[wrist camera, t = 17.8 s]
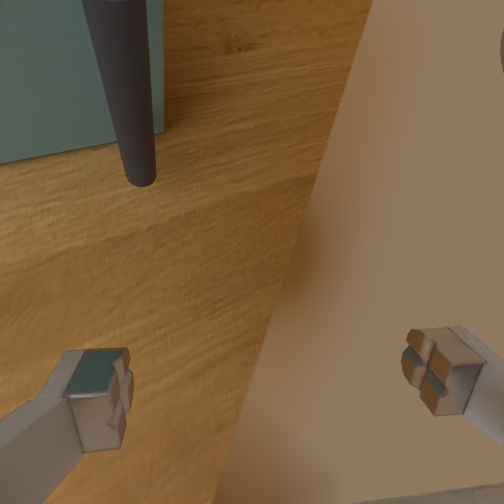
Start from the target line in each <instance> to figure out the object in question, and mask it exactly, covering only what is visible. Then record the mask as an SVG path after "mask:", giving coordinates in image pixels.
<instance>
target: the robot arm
mask: <svg viewBox="0 0 504 504" xmlns="http://www.w3.org/2000/svg"><path fill="white" fill-rule="evenodd" d="M406 341H407V343H408V344H409V347H408V348H407V349H406V350H405V351H404V352H403V355H402V359H401V364H402V371H403V373H404V375H405V378H406V379H407V380H408V382H409V383H410V384H411V385H412V386H414V387H416V388H417V389H419V390H420V398H421V399H422V401H423V402H424V403H425V405H426V406H427V407H428V409H429V410H430V411H431V412H432V414H433V415H434V416H447V415H461V414H463V416H464V417H465V418H467V419H468V420H469V421H471V422H472V423H474V424H475V425H476V426H478V427H479V428H481V429H482V430H483V431H485V432H486V433H488V434H489V435H491V436H492V437H494V438H495V439H496V440H498V441H499V442H501V443H502V444H503V445H504V360H503V359H502V358H501V357H500V356H498V355H497V354H496V353H495V352H494V351H492V350H491V349H490V348H489V347H488V346H486V345H485V344H484V343H482V341H480V340H479V339H478V338H477V337H476V336H474V335H473V334H472V333H471V332H469V331H468V330H467V329H466V328H465V327H462V326H460V325H457V326H444V327H437V328H424V329H411V331H410V332H409V333H408V336H407V339H406ZM129 363H130V355H129V350H128V349H127V348H126V347H124V348H100V349H87V350H86V349H82V350H67V351H66V352H64V353H63V354H62V356H61V357H60V359H59V361H58V362H57V364H56V366H55V368H54V369H53V371H52V373H51V374H50V376H49V378H48V379H47V381H46V383H45V384H44V386H43V388H42V389H41V391H40V393H39V395H38V396H37V398H36V400H32V401H28V402H26V403H25V404H23V405H22V406H20V407H19V408H18V409H16V410H15V411H13V412H12V413H10V414H9V415H8V416H6V417H5V418H3V419H2V420H0V504H42V503H43V502H44V501H45V500H46V498H47V497H48V496H49V495H50V494H51V493H52V491H53V490H54V489H55V488H56V487H57V486H58V484H59V483H60V482H61V481H62V480H63V479H64V478H65V476H66V475H67V474H68V473H69V472H70V471H71V469H72V468H73V467H74V466H75V465H76V464H77V462H78V461H79V460H80V459H81V458H82V457H83V454H84V453H92V452H99V451H107V450H114V449H120V448H121V444H122V440H123V436H124V432H125V429H126V425H127V424H126V418H125V414H126V413H127V412H128V411H129V410H130V409H131V404H132V400H133V391H134V379H133V372H132V371H131V370H129V369H128V366H129ZM349 504H504V482H503V483H496V484H489V485H481V486H474V487H466V488H459V489H453V490H444V491H438V492H430V493H423V494H415V495H408V496H401V497H393V498H386V499H379V500H371V501H364V502H357V503H349Z"/></svg>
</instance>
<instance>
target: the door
mask: <svg viewBox="0 0 504 504" xmlns="http://www.w3.org/2000/svg"><path fill="white" fill-rule="evenodd" d="M162 132H165V114H164V0H0V164H2V163H7V162H12V161H18V160H23V159H28V158H33V157H38V156H43V155H49V154H54V153H59V152H64V151H69V150H75V149H80V148H85V147H90V146H95V145H100V144H106V143H111V142H116V141H117V142H118V146H119V150H120V154H121V157H122V161H123V165H124V169H125V173H126V177H127V179H128V181H129V182H130V183H131V184H133V185H135V186H138V187H146V186H149V185H151V184H152V183H153V182H154V181H155V179H156V157H155V140H154V134H157V133H162Z"/></svg>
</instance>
